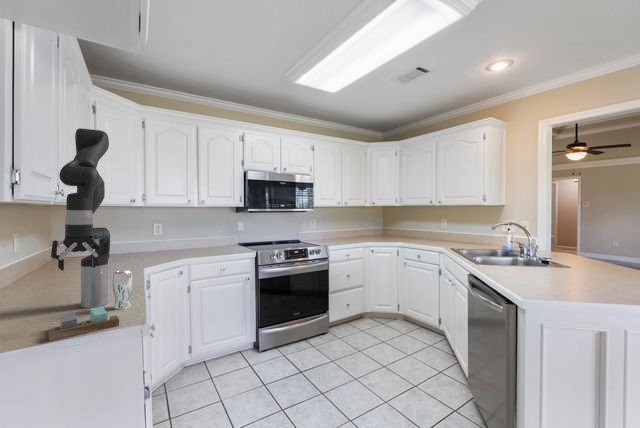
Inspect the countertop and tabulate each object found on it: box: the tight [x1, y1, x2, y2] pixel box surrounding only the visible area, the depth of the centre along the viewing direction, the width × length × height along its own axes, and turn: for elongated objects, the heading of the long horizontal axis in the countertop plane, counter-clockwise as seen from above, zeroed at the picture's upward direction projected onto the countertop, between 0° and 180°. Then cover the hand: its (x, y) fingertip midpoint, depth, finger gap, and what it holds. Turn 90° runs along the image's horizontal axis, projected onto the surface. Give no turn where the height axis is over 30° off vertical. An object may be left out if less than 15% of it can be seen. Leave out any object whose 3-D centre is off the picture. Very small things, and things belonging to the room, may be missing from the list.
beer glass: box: [112, 269, 134, 311], centre depth 120 cm, size 7×7×15 cm
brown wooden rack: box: [47, 314, 120, 343], centre depth 96 cm, size 5×18×2 cm, turn 135°
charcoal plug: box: [59, 311, 78, 330], centre depth 97 cm, size 12×4×5 cm, turn 45°
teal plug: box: [89, 305, 108, 323], centre depth 103 cm, size 12×4×5 cm, turn 45°
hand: (78, 268), depth 101 cm, fingers open, 8 cm apart
